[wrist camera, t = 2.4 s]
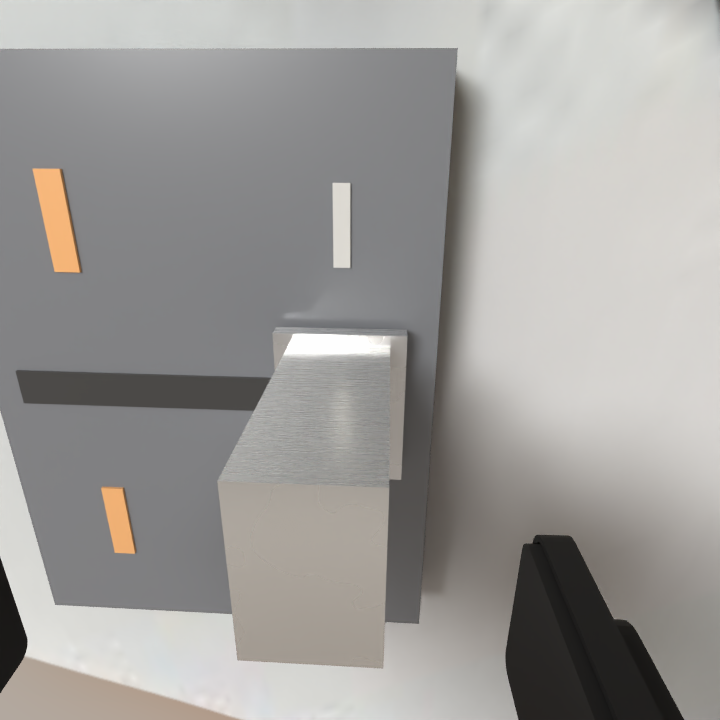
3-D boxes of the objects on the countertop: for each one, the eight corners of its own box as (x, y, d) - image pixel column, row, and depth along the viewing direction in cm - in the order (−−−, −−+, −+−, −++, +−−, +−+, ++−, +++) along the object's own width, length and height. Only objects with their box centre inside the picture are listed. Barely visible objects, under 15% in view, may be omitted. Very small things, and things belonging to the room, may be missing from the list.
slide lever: (406, 329, 16) (419, 474, 9) (400, 469, 18) (407, 680, 11) (276, 326, 16) (186, 465, 9) (284, 465, 18) (215, 669, 11)
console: (447, 63, 16) (457, 47, 13) (416, 576, 23) (419, 625, 21) (-32, 63, 16) (-105, 48, 14) (87, 560, 24) (53, 606, 22)
